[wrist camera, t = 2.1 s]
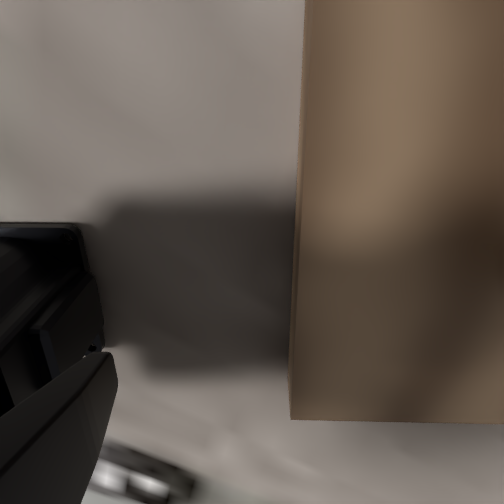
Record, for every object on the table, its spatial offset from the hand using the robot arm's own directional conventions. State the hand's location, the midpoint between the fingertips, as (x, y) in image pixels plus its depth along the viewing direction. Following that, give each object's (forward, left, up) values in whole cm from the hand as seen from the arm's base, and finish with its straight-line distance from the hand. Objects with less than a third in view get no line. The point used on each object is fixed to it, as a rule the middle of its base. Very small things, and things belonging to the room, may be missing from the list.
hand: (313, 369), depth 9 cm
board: (+9, 0, -8) cm, 12 cm away
